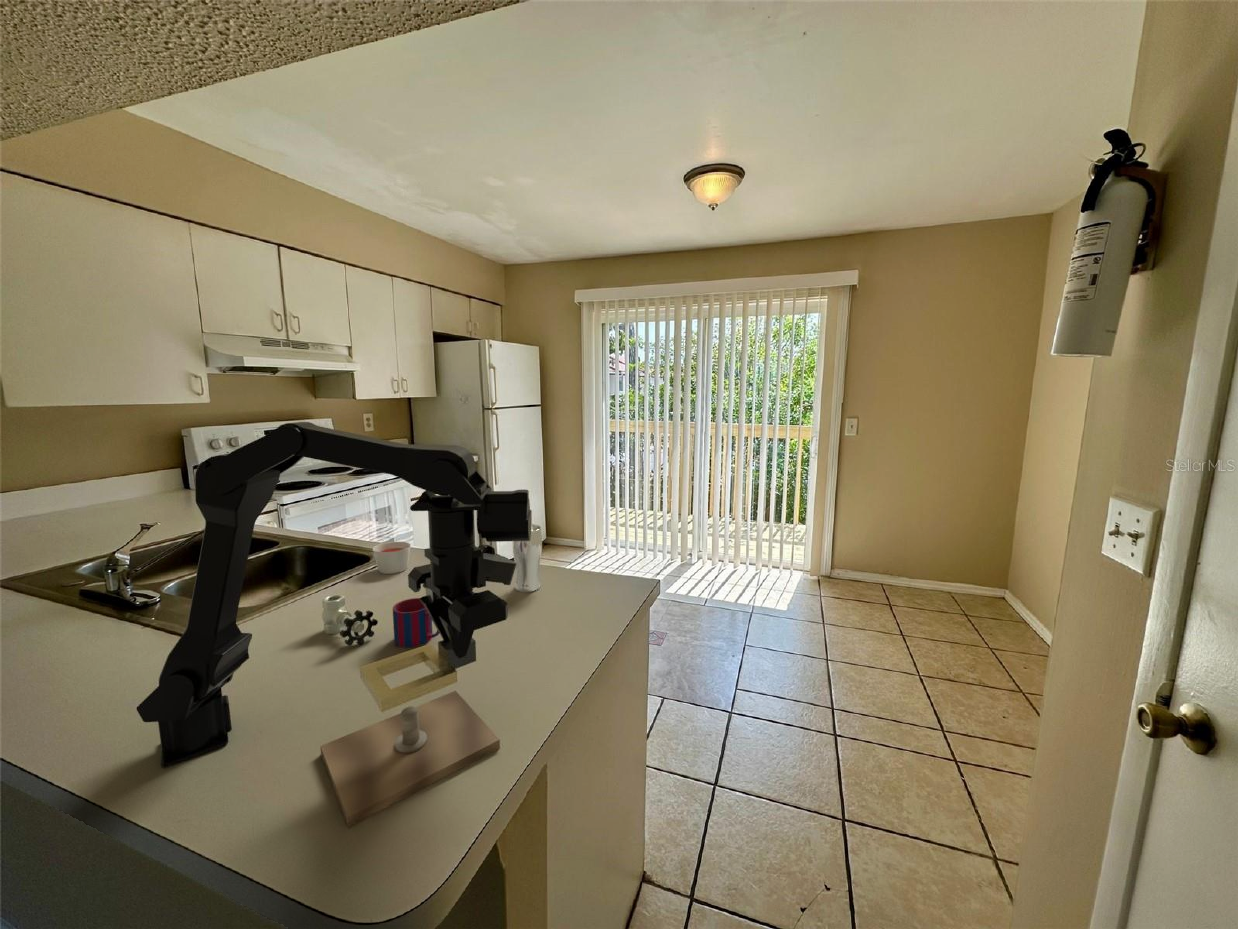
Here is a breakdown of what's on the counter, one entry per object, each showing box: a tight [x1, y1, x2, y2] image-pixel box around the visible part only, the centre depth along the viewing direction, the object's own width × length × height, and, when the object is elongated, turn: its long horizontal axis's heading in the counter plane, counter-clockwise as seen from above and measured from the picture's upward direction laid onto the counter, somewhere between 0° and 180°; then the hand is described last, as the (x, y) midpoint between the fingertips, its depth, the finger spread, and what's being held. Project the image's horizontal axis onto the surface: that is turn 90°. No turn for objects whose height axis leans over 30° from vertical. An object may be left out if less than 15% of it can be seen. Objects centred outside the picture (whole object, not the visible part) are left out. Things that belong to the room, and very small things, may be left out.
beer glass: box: [511, 523, 543, 593], centre depth 115 cm, size 7×7×15 cm
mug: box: [392, 597, 440, 649], centre depth 90 cm, size 7×10×7 cm
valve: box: [321, 594, 379, 647], centre depth 92 cm, size 7×7×12 cm
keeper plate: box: [320, 690, 501, 828], centre depth 62 cm, size 18×14×6 cm
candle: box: [372, 541, 411, 575], centre depth 126 cm, size 9×9×6 cm
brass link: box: [359, 637, 477, 713], centre depth 62 cm, size 13×9×3 cm
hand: (456, 651), depth 65 cm, fingers closed on brass link, 3 cm apart
